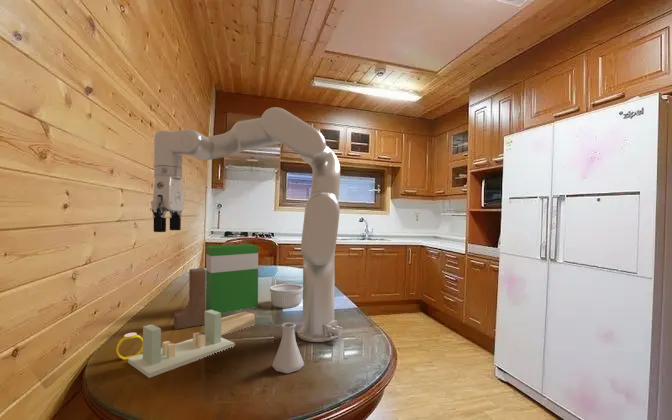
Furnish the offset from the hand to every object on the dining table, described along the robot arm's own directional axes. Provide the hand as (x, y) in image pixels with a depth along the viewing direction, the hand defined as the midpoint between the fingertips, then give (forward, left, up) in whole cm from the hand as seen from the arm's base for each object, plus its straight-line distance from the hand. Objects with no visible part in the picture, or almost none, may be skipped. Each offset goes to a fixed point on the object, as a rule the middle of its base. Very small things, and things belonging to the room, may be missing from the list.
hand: (167, 231), depth 98 cm
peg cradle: (-16, +3, -31) cm, 35 cm away
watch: (-8, +12, -31) cm, 35 cm away
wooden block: (+4, -9, -31) cm, 33 cm away
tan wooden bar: (-10, -16, -31) cm, 37 cm away
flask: (-42, -9, -31) cm, 53 cm away
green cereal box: (+10, -29, -31) cm, 44 cm away
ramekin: (-2, -46, -31) cm, 56 cm away
